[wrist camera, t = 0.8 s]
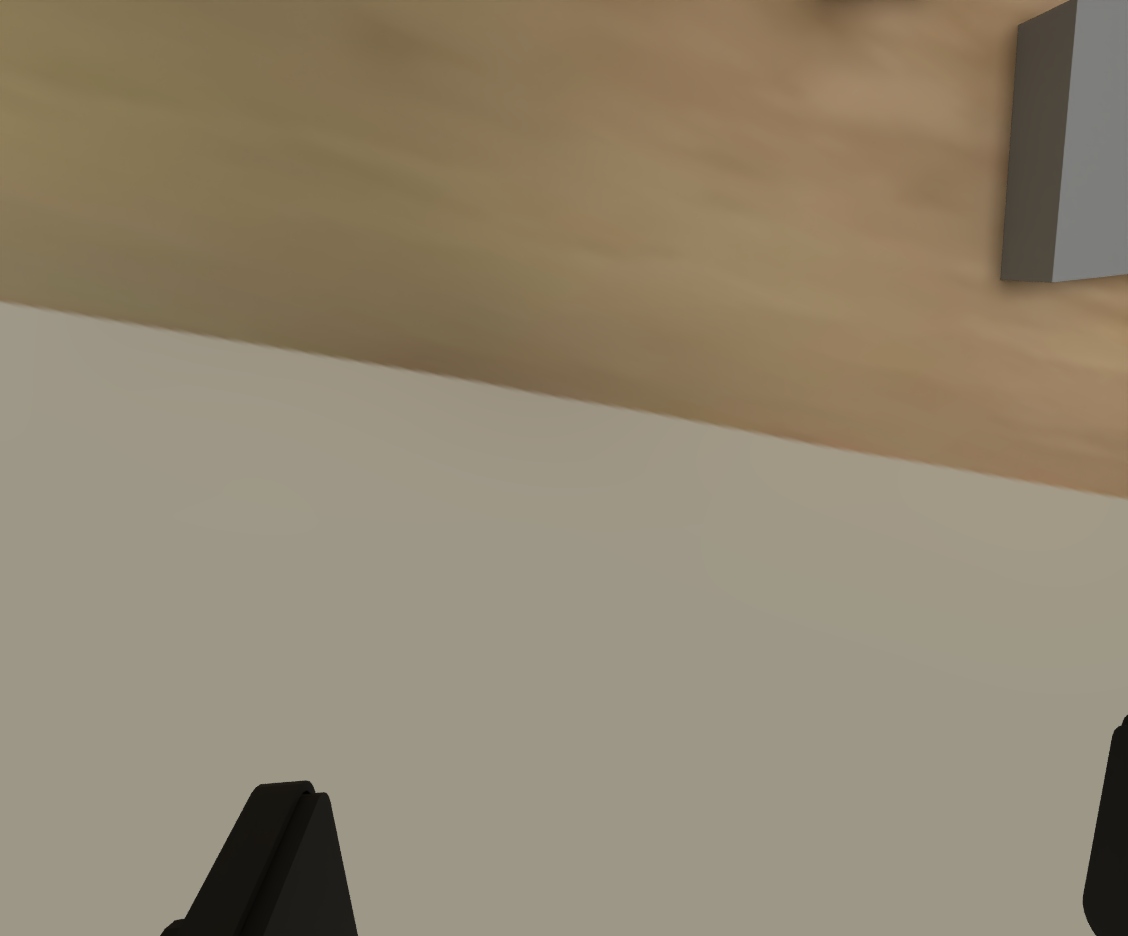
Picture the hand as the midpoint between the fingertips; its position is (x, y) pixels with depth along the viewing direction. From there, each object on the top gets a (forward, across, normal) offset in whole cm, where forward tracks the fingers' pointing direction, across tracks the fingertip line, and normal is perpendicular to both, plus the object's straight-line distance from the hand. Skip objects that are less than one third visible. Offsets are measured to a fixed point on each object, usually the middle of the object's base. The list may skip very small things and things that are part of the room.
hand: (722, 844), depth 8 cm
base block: (+29, -26, -10) cm, 40 cm away
